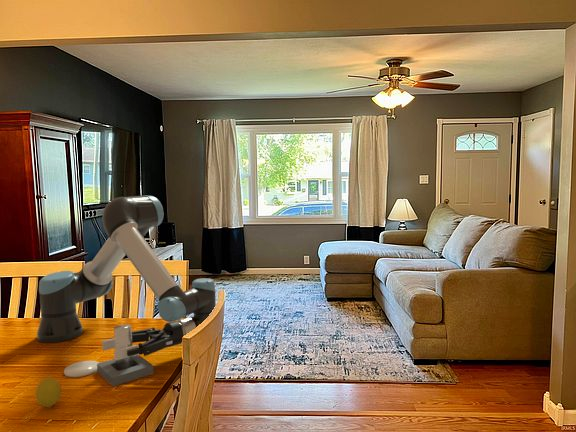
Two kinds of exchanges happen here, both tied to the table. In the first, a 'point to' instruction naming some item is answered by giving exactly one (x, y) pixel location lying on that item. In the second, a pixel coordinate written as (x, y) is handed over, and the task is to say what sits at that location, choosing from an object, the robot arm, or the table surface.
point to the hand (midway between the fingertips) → (108, 350)
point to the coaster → (81, 369)
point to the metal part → (123, 345)
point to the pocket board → (124, 370)
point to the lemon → (48, 392)
